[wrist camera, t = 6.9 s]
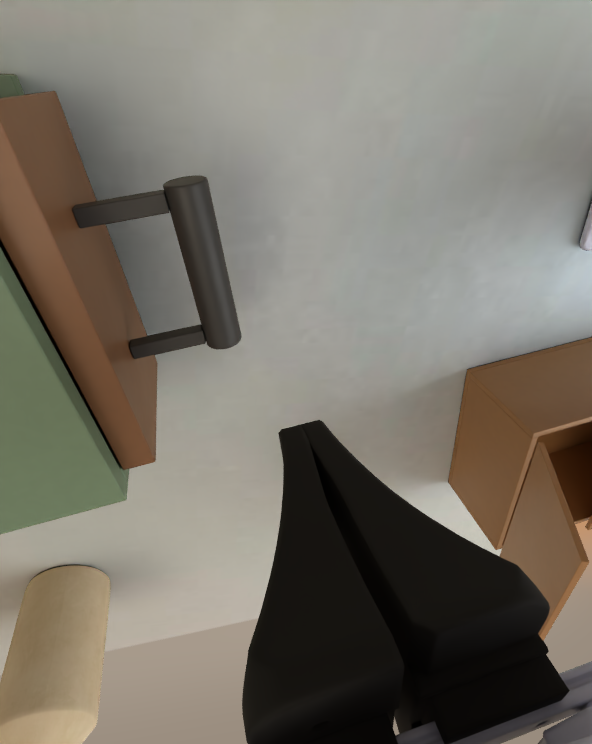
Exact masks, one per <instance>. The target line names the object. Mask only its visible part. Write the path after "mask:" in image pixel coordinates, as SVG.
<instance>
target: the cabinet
mask: <svg viewBox="0 0 592 744" xmlns="http://www.w3.org/2000/svg"><path fill="white" fill-rule="evenodd" d="M20 95H24V92H23V90H22V87H21V85H20V83H19V80H18V78H17V76H16V75H14V74H0V98H5V97H13V96H20ZM128 475H129V469H126V470H123V468H122V467H121V465H120V463H119V461H118V459H117V457H116V455H115V453H114V452H113V450H112V448H111V446H110V444H109V442H108V440H107V438H106V437H105V435H104V433H103V431H102V429H101V427H100V425H99V424H98V422H97V420H96V418H95V416H94V414H93V412H92V410H91V409H90V412H89V411H88V409H87V407H86V405H85V403H84V401H83V400H82V398H81V396H80V394H79V392H78V390H77V388H76V387H75V385H74V383H73V381H72V379H71V377H70V375H69V374H68V372H67V370H66V368H65V366H64V364H63V363H62V361H61V359H60V357H59V355H58V353H57V351H56V350H55V348H54V346H53V344H52V342H51V340H50V338H49V337H48V335H47V333H46V331H45V329H44V327H43V325H42V324H41V322H40V320H39V318H38V316H37V314H36V313H35V311H34V309H33V307H32V305H31V303H30V301H29V300H28V298H27V296H26V294H25V292H24V290H23V288H22V287H21V285H20V283H19V281H18V279H17V277H16V275H15V274H14V272H13V270H12V268H11V266H10V264H9V263H8V261H7V259H6V257H5V255H4V253H3V251H2V250H1V248H0V534H3V533H7V532H10V531H14V530H18V529H21V528H25V527H29V526H32V525H36V524H40V523H44V522H47V521H51V520H55V519H58V518H62V517H66V516H69V515H73V514H77V513H80V512H84V511H88V510H91V509H95V508H99V507H102V506H106V505H110V504H113V503H117V502H121V501H125V500H126V499H127V488H128Z"/></svg>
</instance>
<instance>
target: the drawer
mask: <svg viewBox="0 0 592 744" xmlns="http://www.w3.org/2000/svg"><path fill="white" fill-rule="evenodd" d="M163 188H164V190H158V191H152V192H147V193H141V194H135V195H129V196H123V197H118V198H112V199H106V200H100V201H96V198H95V195H94V193H93V190H92V187H91V185H90V182H89V179H88V177H87V174H86V171H85V169H84V166H83V163H82V160H81V158H80V155H79V152H78V150H77V147H76V144H75V142H74V139H73V136H72V134H71V131H70V128H69V126H68V123H67V120H66V118H65V115H64V112H63V110H62V107H61V104H60V102H59V99H58V96H57V94H56V92H55V91H50V92H42V93H35V94H27V95H20V96H13V97H5V98H0V248H1V250H2V251H3V253H4V255H5V257H6V259H7V261H8V263H9V264H10V266H11V268H12V270H13V272H14V274H15V275H16V277H17V279H18V281H19V283H20V285H21V287H22V288H23V290H24V292H25V294H26V296H27V298H28V300H29V301H30V303H31V305H32V307H33V309H34V311H35V313H36V314H37V316H38V318H39V320H40V322H41V324H42V325H43V327H44V329H45V331H46V333H47V335H48V337H49V338H50V340H51V342H52V344H53V346H54V348H55V350H56V351H57V353H58V355H59V357H60V359H61V361H62V363H63V364H64V366H65V368H66V370H67V372H68V374H69V375H70V377H71V379H72V381H73V383H74V385H75V387H76V388H77V390H78V392H79V394H80V396H81V398H82V400H83V401H84V403H85V405H86V407H87V409H88V411H89V412H90V409H91V410H92V412H93V414H94V416H95V418H96V420H97V422H98V424H99V425H100V427H101V429H102V431H103V433H104V435H105V437H106V438H107V440H108V442H109V444H110V446H111V448H112V450H113V452H114V453H115V455H116V457H117V459H118V461H119V463H120V465H121V467H122V468H123V470H126V469H130V468H133V467H137V466H141V465H145V464H149V463H153V462H155V460H156V408H157V361H156V358H155V355H156V354H160V353H165V352H169V351H174V350H178V349H182V348H187V347H191V346H196V345H200V344H205V343H206V342H207V345H208V346H209V347H211V348H213V349H227V348H230V347H232V346H234V345H236V344H237V343H238V342H239V341H240V340H241V332H240V327H239V322H238V318H237V313H236V309H235V304H234V299H233V295H232V290H231V286H230V281H229V276H228V272H227V267H226V263H225V258H224V253H223V249H222V244H221V240H220V235H219V230H218V226H217V221H216V217H215V212H214V207H213V203H212V198H211V194H210V189H209V184H208V180H207V178H206V177H204V176H186V177H181V178H176V179H173V180H170V181H168V182H166V183H165V184H164V185H163ZM169 209H170V210H169ZM169 211H170V213H171V216H172V220H173V223H174V227H175V231H176V234H177V238H178V241H179V245H180V249H181V252H182V256H183V259H184V263H185V267H186V270H187V274H188V277H189V281H190V285H191V288H192V292H193V295H194V299H195V303H196V306H197V310H198V313H199V317H200V320H201V324H202V325H196V326H191V327H187V328H182V329H177V330H173V331H168V332H164V333H159V334H155V335H150V336H147V334H146V331H145V329H144V326H143V323H142V321H141V318H140V315H139V313H138V310H137V307H136V305H135V302H134V299H133V297H132V294H131V291H130V289H129V286H128V283H127V281H126V278H125V275H124V273H123V270H122V267H121V265H120V262H119V259H118V257H117V254H116V251H115V249H114V246H113V243H112V241H111V238H110V235H109V233H108V230H107V227H106V225H105V224H109V223H115V222H120V221H126V220H131V219H137V218H142V217H148V216H153V215H159V214H165V213H169Z"/></svg>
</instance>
